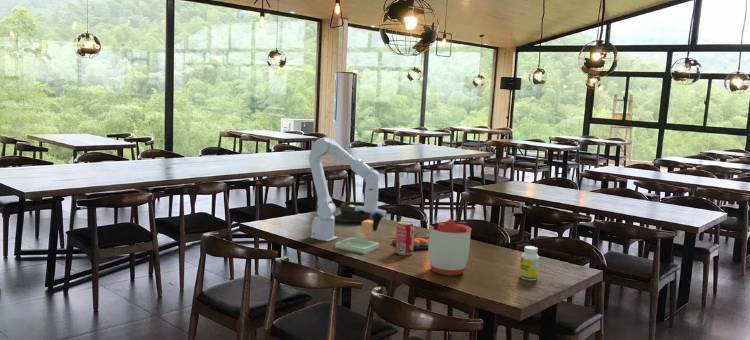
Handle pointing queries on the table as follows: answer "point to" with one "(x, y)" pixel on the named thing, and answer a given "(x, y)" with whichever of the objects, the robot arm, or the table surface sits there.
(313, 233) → the robot arm
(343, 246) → the tray
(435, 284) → the table surface
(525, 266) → the pill bottle
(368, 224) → the tan block
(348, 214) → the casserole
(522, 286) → the table surface
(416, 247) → the sushi plate
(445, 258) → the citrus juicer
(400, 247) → the soda can
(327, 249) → the table surface
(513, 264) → the table surface
